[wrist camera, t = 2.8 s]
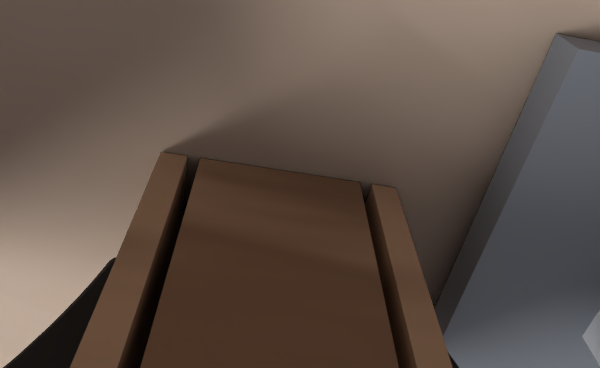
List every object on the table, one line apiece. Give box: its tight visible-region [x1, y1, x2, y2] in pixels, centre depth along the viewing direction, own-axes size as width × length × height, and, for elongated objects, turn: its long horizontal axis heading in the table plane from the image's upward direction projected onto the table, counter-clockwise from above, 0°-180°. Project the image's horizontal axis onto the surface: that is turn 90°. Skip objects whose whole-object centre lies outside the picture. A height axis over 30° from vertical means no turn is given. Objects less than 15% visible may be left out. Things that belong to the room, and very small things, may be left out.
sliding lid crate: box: [70, 152, 453, 368], centre depth 11 cm, size 6×6×7 cm
